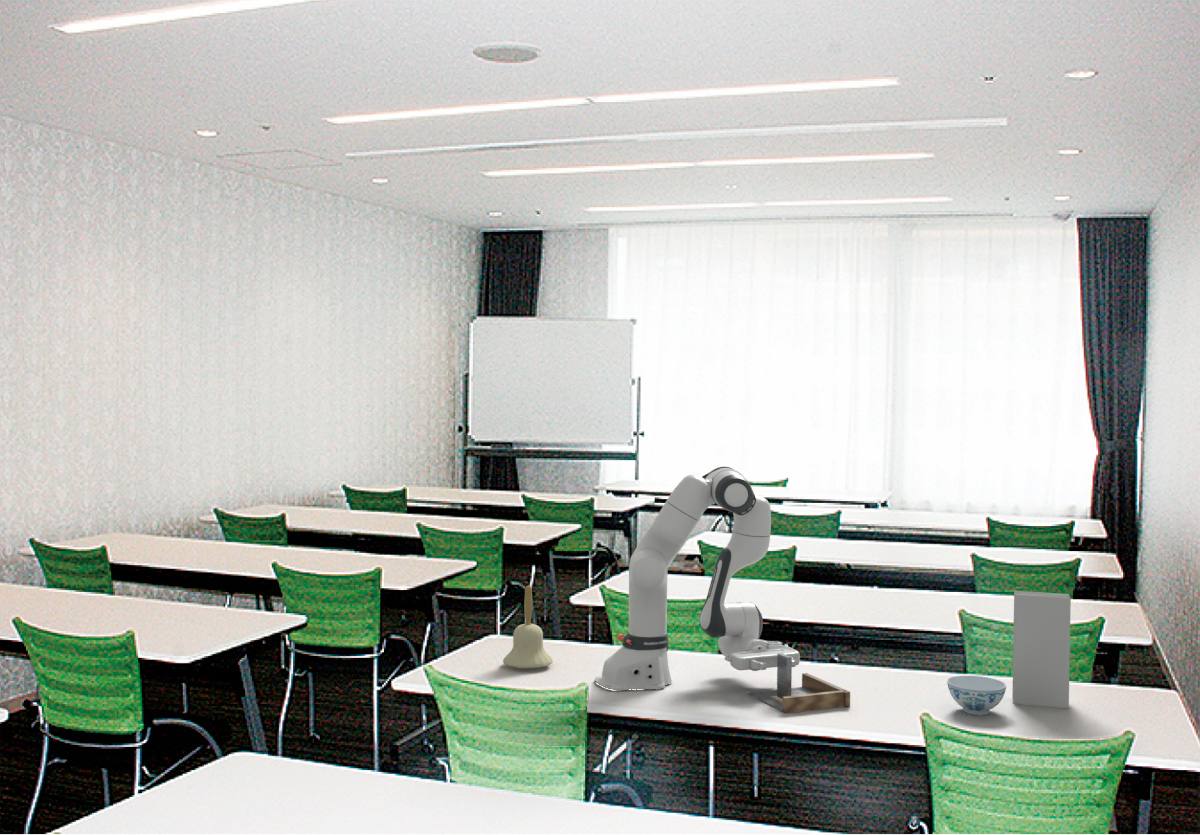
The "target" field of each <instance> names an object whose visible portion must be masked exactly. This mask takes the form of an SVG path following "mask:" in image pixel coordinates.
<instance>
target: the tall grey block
mask: <svg viewBox="0 0 1200 835" xmlns="http://www.w3.org/2000/svg"><path fill="white" fill-rule="evenodd" d="M1071 606H1072V605H1071V597H1070V594H1068V593H1053V592H1052V593H1050V592H1035V591H1023V590H1022V591H1021V590H1014V591H1013V636H1012V637H1013V639H1012V640H1013V641H1012V642H1013V644H1012V645H1013V647H1012V693H1011V694H1012V704H1013V705H1014V704H1015V705H1027V706H1036V707H1037V706H1038V707H1047V708H1048V707H1050V708H1060V709H1070V665H1071V664H1070V658H1071V657H1070V655H1071V654H1070V653H1071V650H1070V649H1071Z"/></svg>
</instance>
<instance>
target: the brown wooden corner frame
mask: <svg viewBox="0 0 1200 835" xmlns="http://www.w3.org/2000/svg"><path fill="white" fill-rule="evenodd" d="M801 687H804V688H807V689H809V690H811V691H813V692H815V693H813V694H803V695H794V696H785V697H782V711H781V712H782V713H783V714H791V713H799V712H808V710H810V711H815V710H814V709H818V710H823V709H822V708H827V709H832V708H831V707H835V708H840V707H839V706H846V707H845V708H848V707H847V706H850V707H851V691H849V690H846V689H845V688H842V687H840V686H837V685H836V684H833V683H830V682H829V681H826V680H824V679H822V678H819V677H817V676H814V675H812V674H809V673H808V672H805V673H803V672H802V673H801Z"/></svg>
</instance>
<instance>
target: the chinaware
mask: <svg viewBox="0 0 1200 835" xmlns="http://www.w3.org/2000/svg"><path fill="white" fill-rule="evenodd" d="M946 683H947V688H948V691H949V693H950V695H951V697H952V699H953V700H954V701H955V703H956V704H958V705H959V706H960V707H961V708H962V711H963V712H964V711H965V712H964V713H966V712H967V714H969V713H970V714H969V715H974V716H975V715H976V716H986V715H988V714H990V711H991V710H992V709H994V708H995V707H997V706H998V705H999V704H1000V703H1001V702H1002V700H1003V698H1004V697H1005V693H1006V690H1007V683H1005V682H1003V681H1002V680H1000V679H996V678H992V677H987V676H980V675H956V676H951V677H948V678H947V680H946Z"/></svg>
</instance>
